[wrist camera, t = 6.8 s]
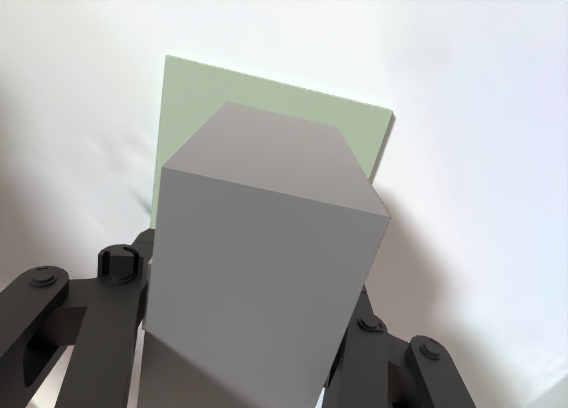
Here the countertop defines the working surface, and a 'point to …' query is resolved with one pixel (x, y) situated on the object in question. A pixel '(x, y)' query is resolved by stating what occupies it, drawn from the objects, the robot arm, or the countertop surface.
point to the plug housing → (255, 262)
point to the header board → (259, 94)
